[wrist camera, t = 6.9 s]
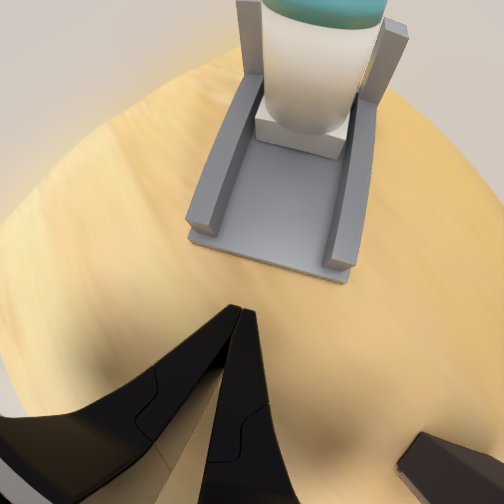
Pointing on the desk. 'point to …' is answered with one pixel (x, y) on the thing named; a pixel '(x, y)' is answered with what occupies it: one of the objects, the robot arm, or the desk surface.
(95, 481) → the robot arm
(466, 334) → the desk surface
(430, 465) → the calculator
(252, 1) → the mount
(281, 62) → the teal-lidded white jar
